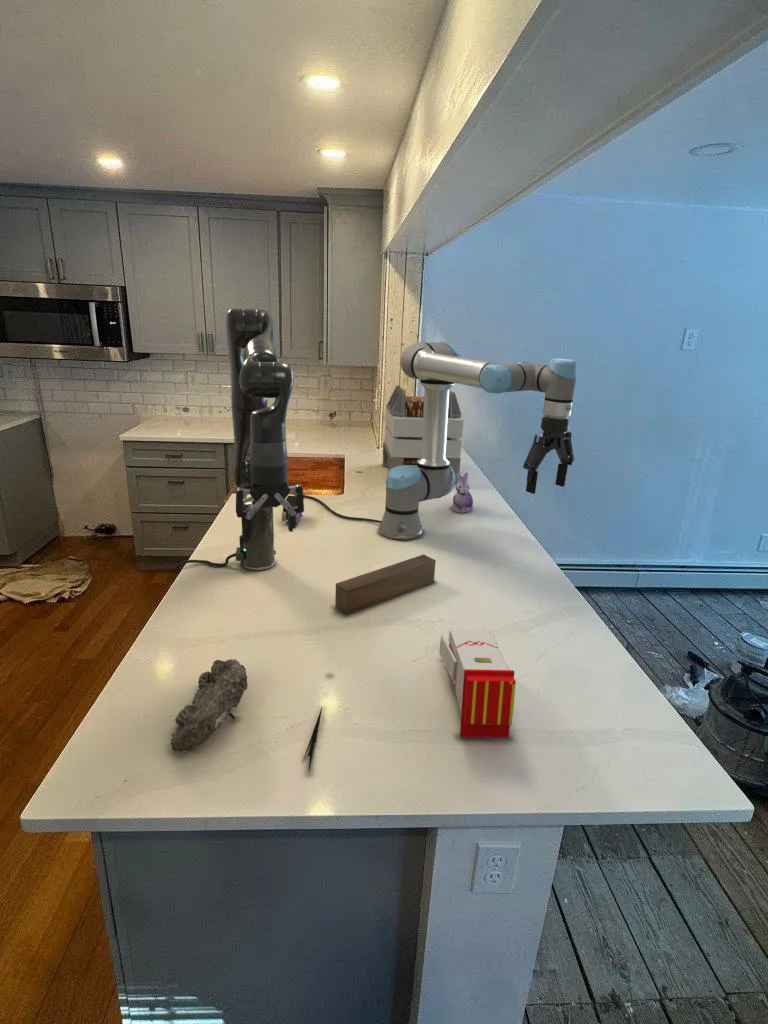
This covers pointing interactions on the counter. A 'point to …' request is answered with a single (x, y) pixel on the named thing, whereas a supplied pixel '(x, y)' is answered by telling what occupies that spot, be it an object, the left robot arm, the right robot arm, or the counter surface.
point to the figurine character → (292, 502)
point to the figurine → (462, 495)
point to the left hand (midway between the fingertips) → (270, 532)
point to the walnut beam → (384, 583)
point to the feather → (313, 740)
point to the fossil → (210, 704)
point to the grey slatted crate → (417, 431)
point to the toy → (479, 682)
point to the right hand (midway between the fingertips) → (545, 489)
